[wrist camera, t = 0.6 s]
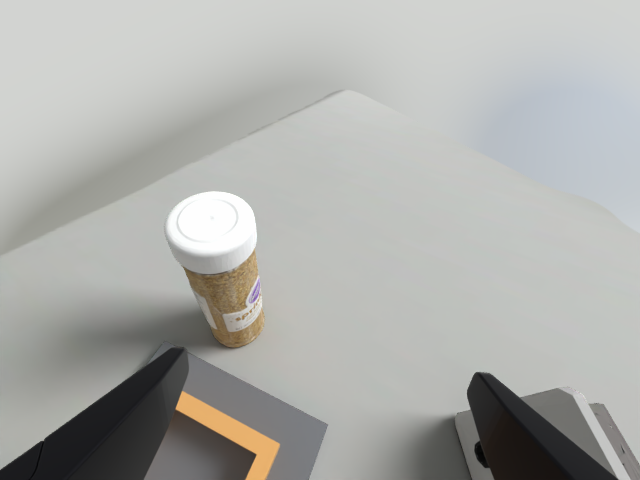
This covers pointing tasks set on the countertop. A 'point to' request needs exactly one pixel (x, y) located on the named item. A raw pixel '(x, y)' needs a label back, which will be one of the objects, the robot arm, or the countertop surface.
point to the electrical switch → (573, 421)
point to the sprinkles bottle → (220, 262)
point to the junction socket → (234, 432)
